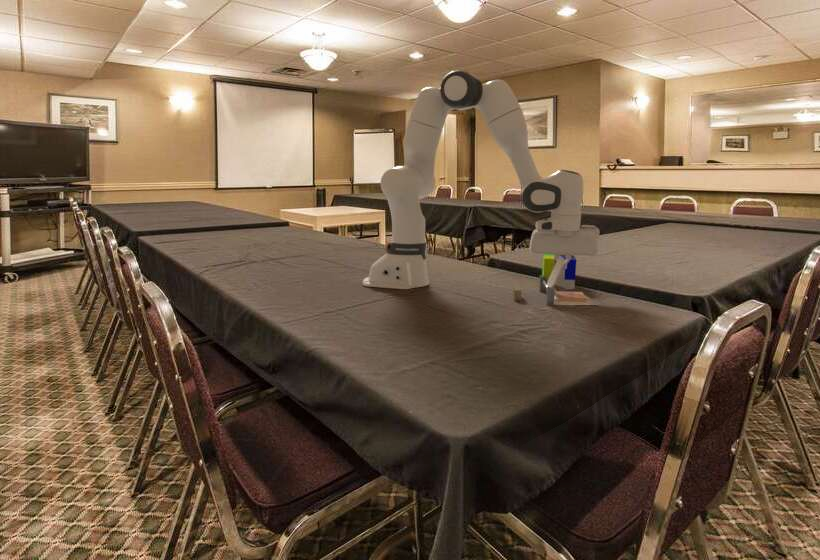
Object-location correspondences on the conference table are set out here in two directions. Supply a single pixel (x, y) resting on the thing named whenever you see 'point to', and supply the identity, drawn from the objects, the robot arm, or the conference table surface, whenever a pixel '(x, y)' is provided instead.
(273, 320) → the conference table surface
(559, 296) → the tile
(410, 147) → the robot arm
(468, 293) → the conference table surface
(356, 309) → the conference table surface
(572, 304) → the mat
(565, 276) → the puzzle toy
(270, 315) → the conference table surface
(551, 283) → the flipper
